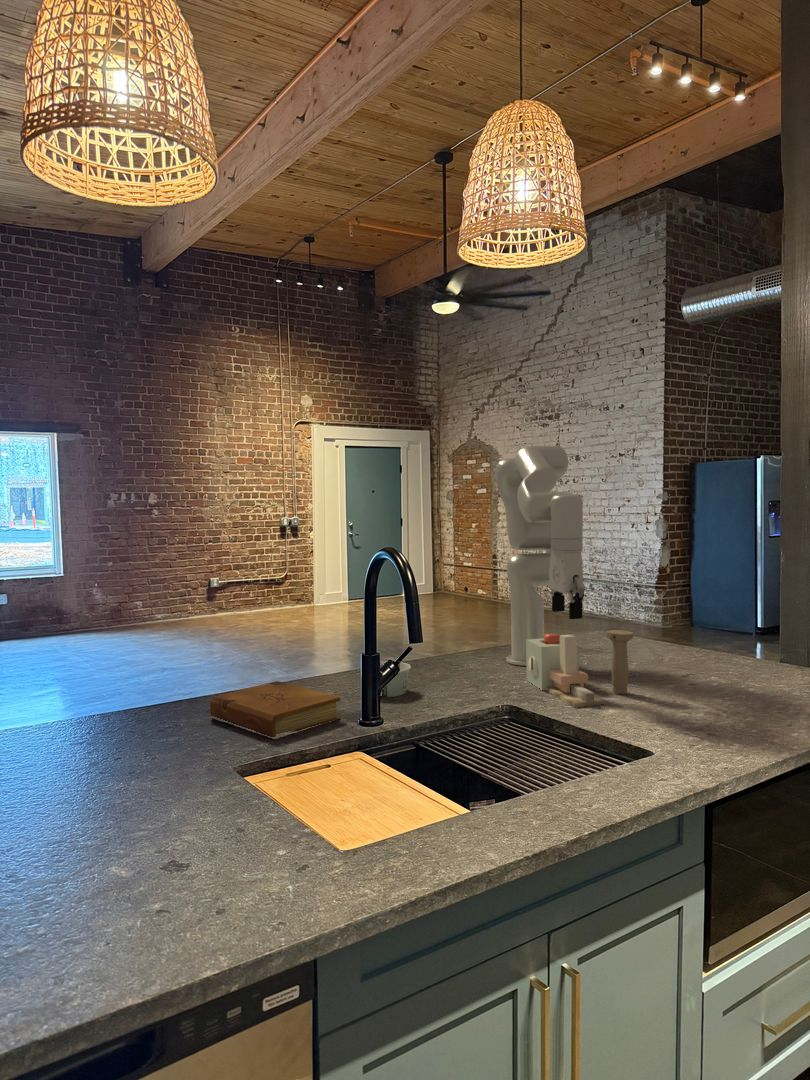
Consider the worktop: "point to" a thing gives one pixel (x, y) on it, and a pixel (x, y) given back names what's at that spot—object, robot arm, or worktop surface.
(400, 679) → the food container
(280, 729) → the diary
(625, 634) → the handle
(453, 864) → the worktop surface
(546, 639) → the button
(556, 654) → the gauge cabinet
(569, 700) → the rail
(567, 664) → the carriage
